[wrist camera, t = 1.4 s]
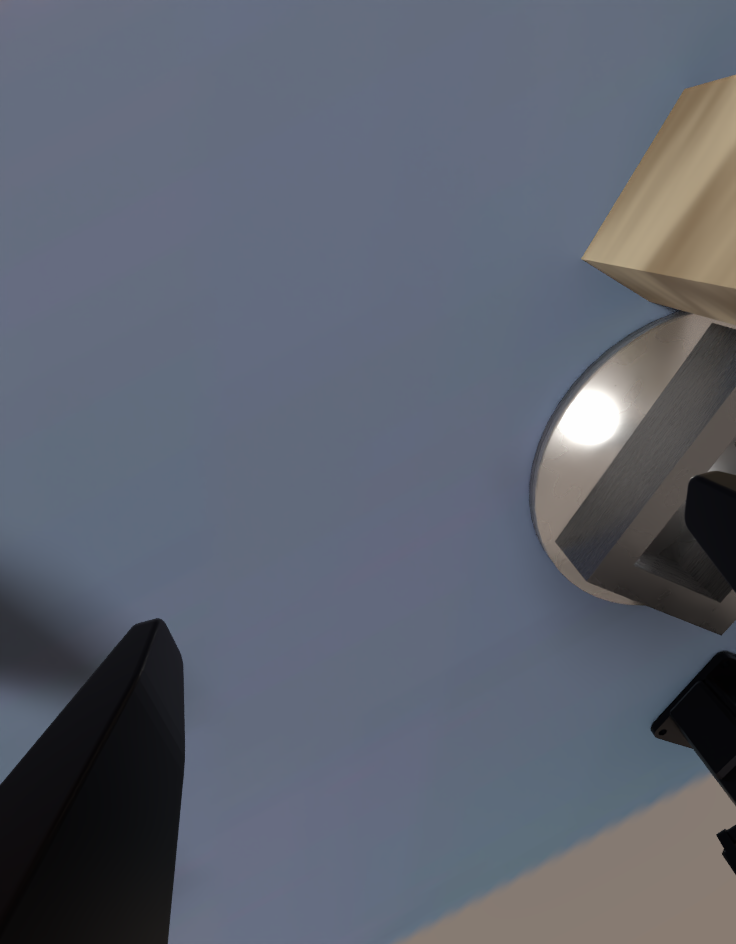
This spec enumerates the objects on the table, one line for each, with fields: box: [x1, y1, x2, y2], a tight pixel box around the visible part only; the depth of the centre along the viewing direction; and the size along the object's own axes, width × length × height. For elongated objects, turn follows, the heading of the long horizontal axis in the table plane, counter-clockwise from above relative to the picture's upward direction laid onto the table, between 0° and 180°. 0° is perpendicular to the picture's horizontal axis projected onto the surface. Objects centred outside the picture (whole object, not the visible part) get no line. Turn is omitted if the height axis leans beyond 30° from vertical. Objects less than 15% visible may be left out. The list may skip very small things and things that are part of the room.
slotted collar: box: [529, 311, 736, 635], centre depth 24 cm, size 14×14×4 cm
